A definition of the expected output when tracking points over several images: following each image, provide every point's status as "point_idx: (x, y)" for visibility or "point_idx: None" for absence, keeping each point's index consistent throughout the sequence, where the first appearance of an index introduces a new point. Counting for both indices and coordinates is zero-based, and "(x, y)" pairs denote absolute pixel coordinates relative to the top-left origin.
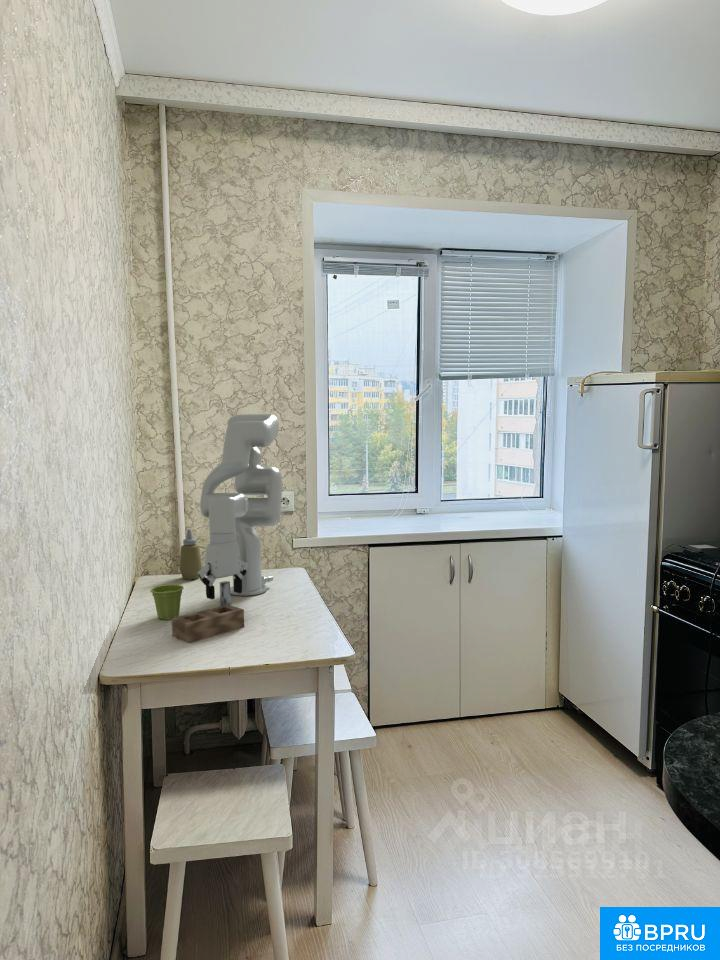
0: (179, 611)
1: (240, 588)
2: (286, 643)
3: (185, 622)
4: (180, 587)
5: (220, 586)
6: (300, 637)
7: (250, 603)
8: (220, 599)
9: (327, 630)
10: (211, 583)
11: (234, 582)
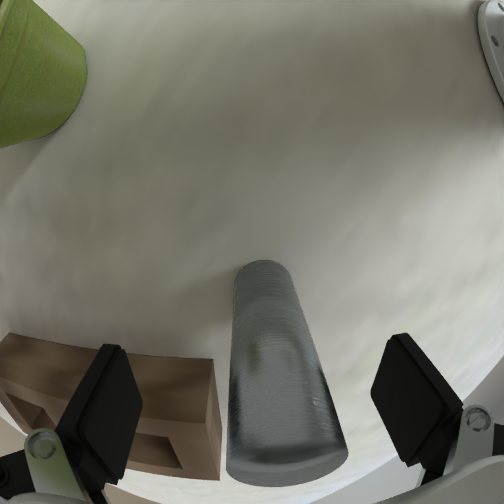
0: (68, 99)
1: (385, 418)
2: (224, 497)
3: (16, 419)
4: (3, 23)
5: (227, 439)
6: (266, 496)
7: (465, 207)
8: (231, 342)
9: (329, 491)
10: (90, 494)
11: (423, 399)
